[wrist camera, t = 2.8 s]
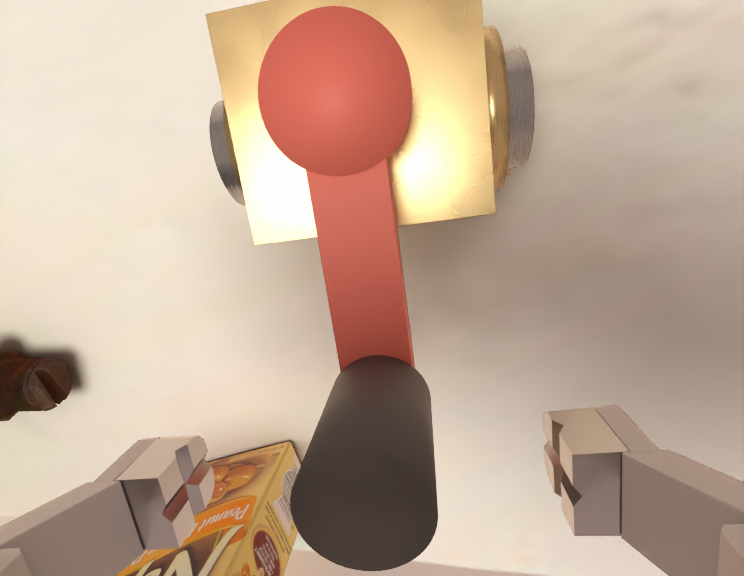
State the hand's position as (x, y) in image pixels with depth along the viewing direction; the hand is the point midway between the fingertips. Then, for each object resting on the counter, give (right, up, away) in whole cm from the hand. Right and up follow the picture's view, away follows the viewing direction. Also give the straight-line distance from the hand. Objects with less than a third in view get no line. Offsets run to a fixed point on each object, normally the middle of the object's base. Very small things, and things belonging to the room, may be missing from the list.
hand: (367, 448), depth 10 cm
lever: (0, +5, +2) cm, 5 cm away
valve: (+1, +11, +11) cm, 16 cm away
